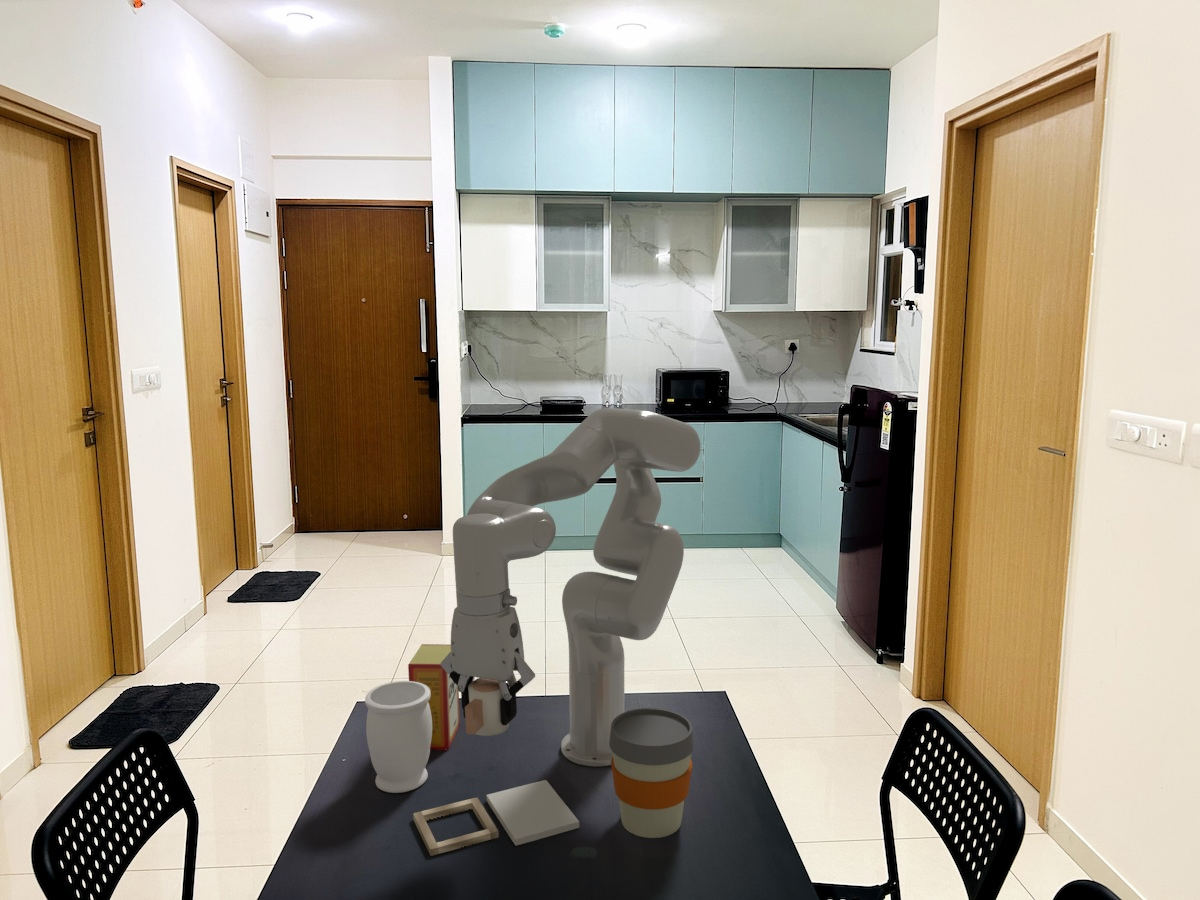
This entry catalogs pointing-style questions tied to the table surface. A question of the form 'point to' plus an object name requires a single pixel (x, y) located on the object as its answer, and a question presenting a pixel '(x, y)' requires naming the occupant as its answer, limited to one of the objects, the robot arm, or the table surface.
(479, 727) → the cylinder with brown end
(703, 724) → the table surface
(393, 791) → the jar
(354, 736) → the table surface
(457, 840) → the wooden square frame
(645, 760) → the reusable coffee cup
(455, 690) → the baking soda box
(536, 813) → the mat
